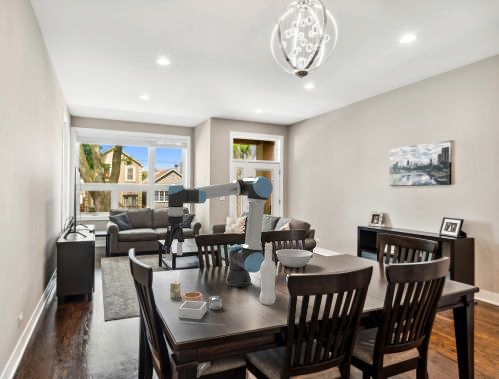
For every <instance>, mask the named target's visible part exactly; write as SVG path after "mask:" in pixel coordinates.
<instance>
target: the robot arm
mask: <svg viewBox="0 0 499 379" xmlns="http://www.w3.org/2000/svg"><path fill="white" fill-rule="evenodd" d="M273 189H274V188H273V184H272V181H271V180H270V179H269V178H267V177H265V176H261V175H260V176H248V177H244V178H239V179H234V180H233V181H231V182H225V183H224V182H223V183H217V184H210V185H201V186H196V187H195V186H194V187H187V188H186V187H185V188H184V185H183V184H170V185H169V186H168V190H167V215H168V216H167V224H168V225H169V224H170V226H168V225H167V227H166V234H165V239H164V243H163V247H164V248H165V261H167V262H168V261H169V262H172V261H173V260H172V259H173V247H172V245H173V242H174V239H175V237H176V240H177V242H176V256H183V243H185V235H184V230H183V229H184V228H183V223H184V216H183V215H184V204H194V205H195V204H199V205H200V204H205V203H206V200H208V199H217V198H221V197H228V196H236V197H239V196H245V197H246V196H247V199H246V200H247V201H249V205H248V214H247V223H246V232H245V241H244V244H237V245H236V244H235V245H231V246H229V249H228V254H229V256H228V258H229V260H228V262H229V263H228V273H227V274H226V279H225V284H226V285H227V286H230V287H235V288H236V287H237V288H239V287H241V288H243V287H249V286H250V285H252V278H251V275H250V273H258V272H260V267H261V264H262V262H263V261H264V260H265V255H263V254H262V253H263V248H262V247H261V238H262V228H263V221H264V212H265V211H264V210H265V204H266V203H267V202H268V199H269V197H270V196H271V194H272V192H273Z"/></svg>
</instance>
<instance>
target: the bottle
mask: <svg viewBox="0 0 499 379" xmlns="http://www.w3.org/2000/svg"><path fill="white" fill-rule="evenodd" d="M264 246H265V247H264V259H265V260H264V261H263V262H262V264H261V267H260V271H259V272H260V293H259V302H260V304H262V305H265V306H271V305H274V304H275V303H276V292H275V288H276V287H275V286H276V284H275V283H276V272H277V267H276V264H275V262H274V261H273V244H272V243H270V242H269V243H265V244H264Z"/></svg>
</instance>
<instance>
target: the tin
mask: <svg viewBox="0 0 499 379" xmlns="http://www.w3.org/2000/svg"><path fill="white" fill-rule="evenodd" d="M222 300H223V297H222V296H220V295H211V296H209V297H208V308H209V309H210V310H213V311H214V310H215V311H217V310H220V309H222V307H223V306H222V305H223V301H222Z"/></svg>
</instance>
